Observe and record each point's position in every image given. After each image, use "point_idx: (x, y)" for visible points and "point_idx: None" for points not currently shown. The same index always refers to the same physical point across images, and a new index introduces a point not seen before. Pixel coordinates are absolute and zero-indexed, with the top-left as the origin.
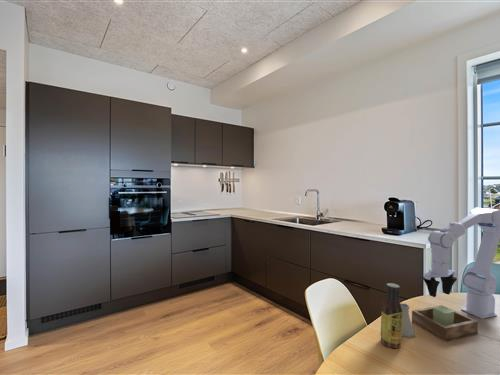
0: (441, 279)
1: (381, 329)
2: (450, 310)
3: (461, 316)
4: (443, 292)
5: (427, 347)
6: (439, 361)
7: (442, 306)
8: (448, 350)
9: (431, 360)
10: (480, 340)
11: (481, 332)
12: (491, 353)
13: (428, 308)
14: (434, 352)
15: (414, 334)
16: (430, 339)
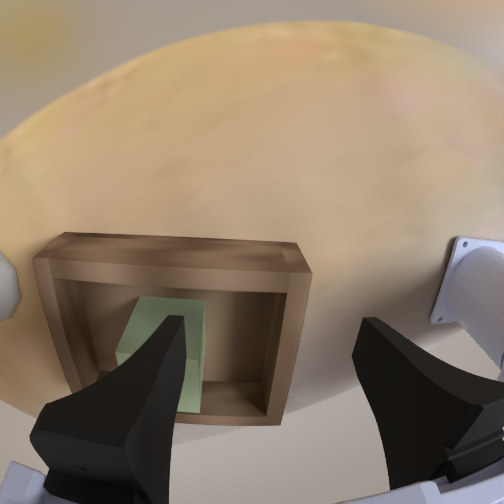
0: (434, 389)
1: None
2: (191, 403)
3: (271, 379)
4: (364, 321)
5: (19, 359)
6: (19, 394)
7: (193, 365)
8: (68, 391)
9: (4, 384)
10: None
11: (300, 382)
12: (185, 437)
13: (155, 276)
14: (26, 377)
15: (5, 318)
16: (51, 344)
